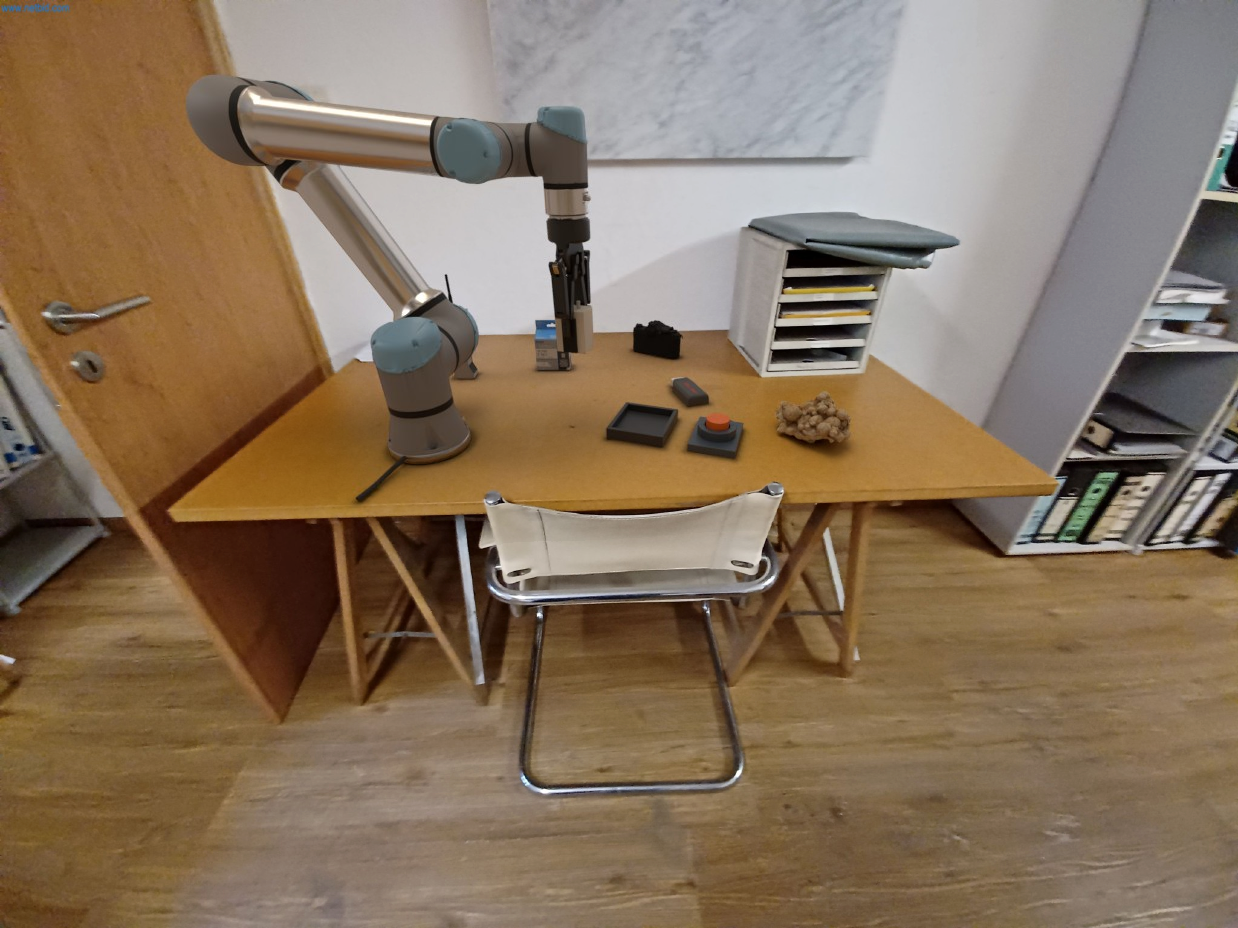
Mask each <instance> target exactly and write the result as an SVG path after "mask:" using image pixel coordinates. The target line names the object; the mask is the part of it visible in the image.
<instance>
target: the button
mask: <svg viewBox="0 0 1238 928" xmlns="http://www.w3.org/2000/svg"><path fill="white" fill-rule="evenodd" d="M706 417H707V419H706V427H707V428H708V429H710V430H713V431H726V430H727V429H728V428H729V421H730V420H731V419H730V417H729V416H728V415H726V414H723V413H720V412H719V413H716V412H715V413H710V414H708V415H707V416H706Z"/></svg>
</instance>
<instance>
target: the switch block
mask: <svg viewBox="0 0 1238 928" xmlns="http://www.w3.org/2000/svg"><path fill="white" fill-rule="evenodd" d="M706 419H707V416H699V418H698V420H697V422H696V424H695V427H694V429H693V430H692V433H691V435H690V438H689V440H688V442H687V444H686V452H690V453H695V454H701V455H707V456H714V457H720V458H725V459H726V458H727V459H731V460H735V458H736V456H737V455H736V454H737V451H738V448H739V444H740V440H741V437H742V434H743V430H744V425H745V424H744V422H741V421H735V420H733V419H730V421H729V428H728V429H727V430H726V431H713V430H710V429H708V428H707V427H706Z"/></svg>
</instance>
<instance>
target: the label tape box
mask: <svg viewBox="0 0 1238 928" xmlns="http://www.w3.org/2000/svg"><path fill="white" fill-rule="evenodd" d="M534 322H535V330H534V331H535V333H534V351H535V360H536V361H535V362H536V370H537V371H571V369H572V353H569V352H562V351H557V339H556V327H555V326H548V325H551V324H553V325H555V319H535V320H534Z"/></svg>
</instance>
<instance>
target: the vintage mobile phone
mask: <svg viewBox="0 0 1238 928" xmlns="http://www.w3.org/2000/svg"><path fill="white" fill-rule="evenodd" d="M444 280H445V285H446V291H447V298H448V299H449V301H450V302H451V303H454V301H453V296H452V292H451V288H450V282H449V276H448V274H447V273H445V274H444ZM465 309H466V310H467V311H468V310H469V309H468V308H465ZM468 312H469V311H468ZM453 374H454V378H455V379H456V380H474V379H475V378H476V377H477V375H478V374H479V369H478V368H477V366H476V364H475V363H474V361H473V355H472V356H471V357H470V359H469V360H468V361H466V362H465V363H463V364H462V365H461V366H460V367H459V368H458V369H457V370H456V371H455V372H454V373H453Z"/></svg>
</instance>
